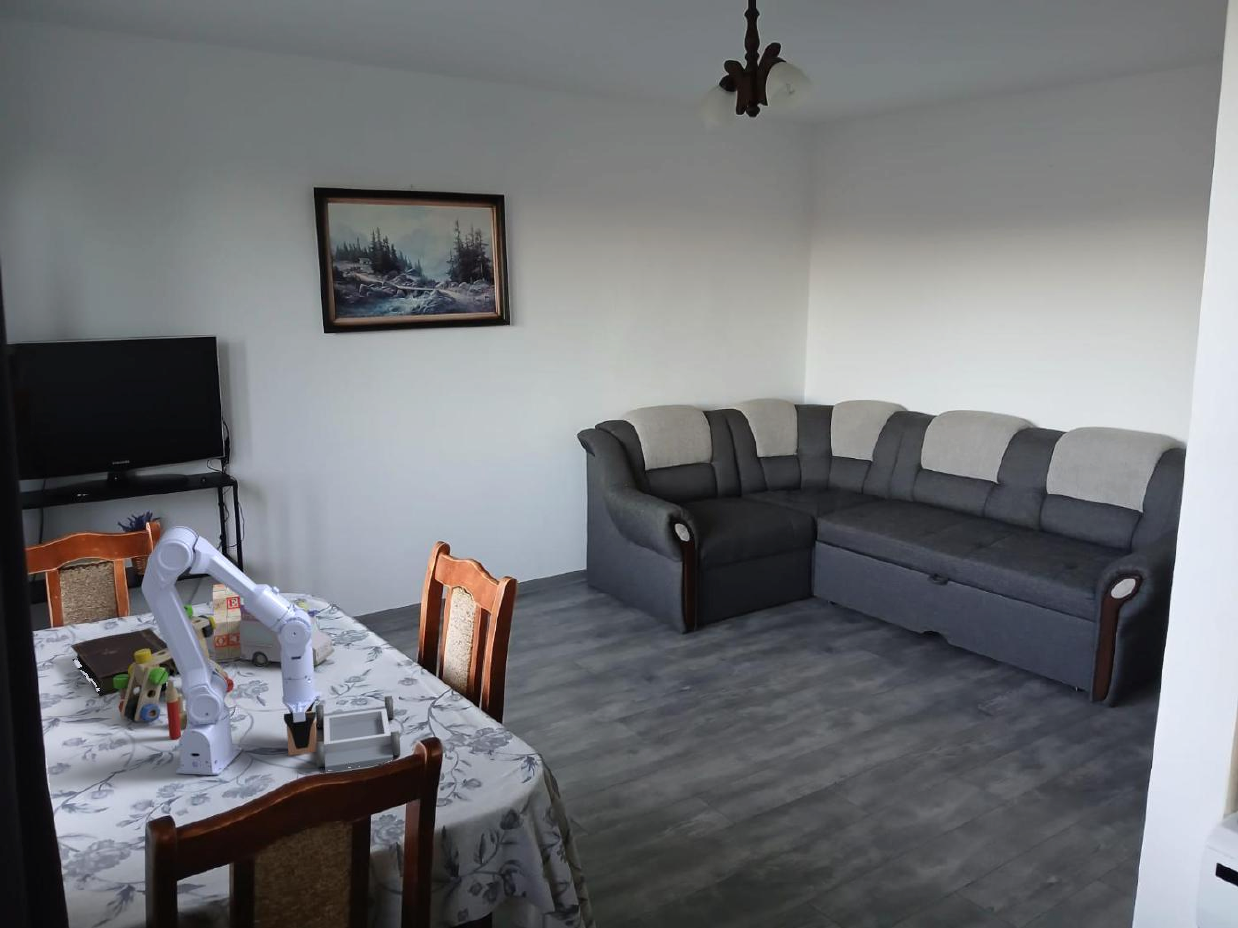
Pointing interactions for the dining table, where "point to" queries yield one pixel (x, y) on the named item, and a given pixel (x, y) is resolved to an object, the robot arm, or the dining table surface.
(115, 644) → the diary
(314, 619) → the toy vehicle
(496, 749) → the dining table surface
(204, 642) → the toy construction set
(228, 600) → the stack of blocks
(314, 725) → the light orange block
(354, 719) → the chassis
